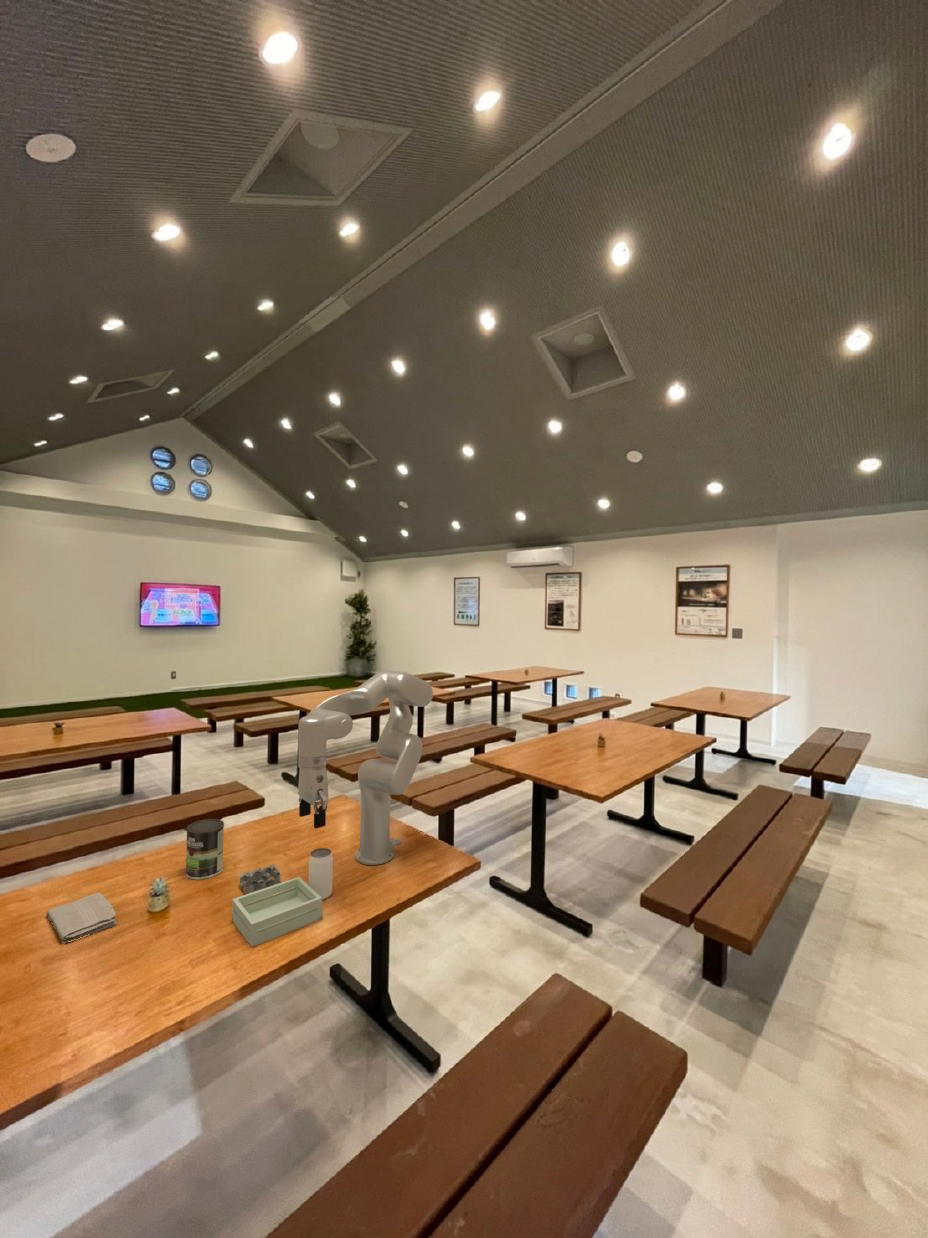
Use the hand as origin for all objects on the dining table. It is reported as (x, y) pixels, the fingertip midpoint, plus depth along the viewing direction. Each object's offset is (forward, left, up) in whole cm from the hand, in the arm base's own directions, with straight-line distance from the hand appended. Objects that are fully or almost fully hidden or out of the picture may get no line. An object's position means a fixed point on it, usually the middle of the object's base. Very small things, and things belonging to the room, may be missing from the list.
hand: (312, 821), depth 147 cm
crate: (+12, +5, -21) cm, 25 cm away
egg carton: (+9, -15, -22) cm, 28 cm away
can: (-2, +1, -21) cm, 21 cm away
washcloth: (+50, -26, -22) cm, 60 cm away
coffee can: (+19, -33, -21) cm, 43 cm away
